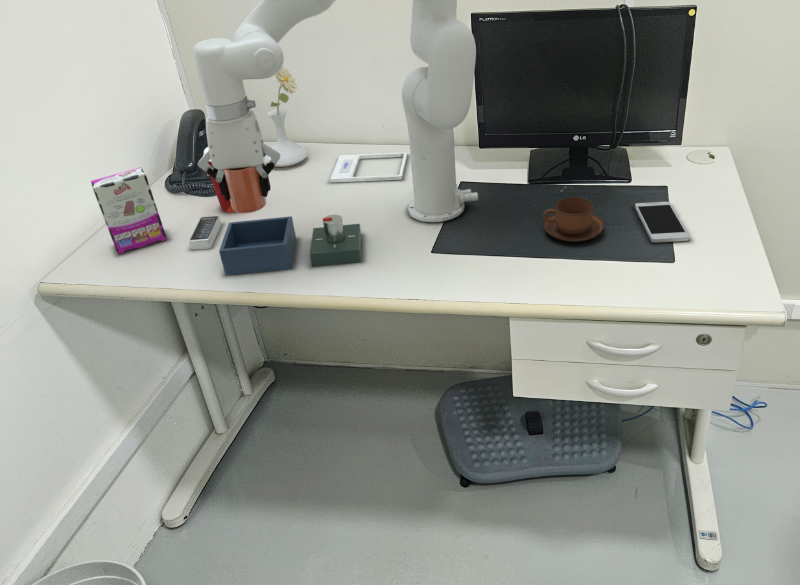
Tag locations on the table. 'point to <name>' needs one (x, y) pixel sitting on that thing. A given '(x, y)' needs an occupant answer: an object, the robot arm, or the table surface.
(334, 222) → the rotary dial knob
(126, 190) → the candy bar box
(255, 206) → the cup
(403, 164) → the photo frame
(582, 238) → the cup and saucer
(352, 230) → the green dial base
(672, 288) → the table surface
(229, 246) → the basin
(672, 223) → the smartphone
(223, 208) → the coffee cup
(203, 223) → the multiport hub
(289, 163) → the flower in vase
